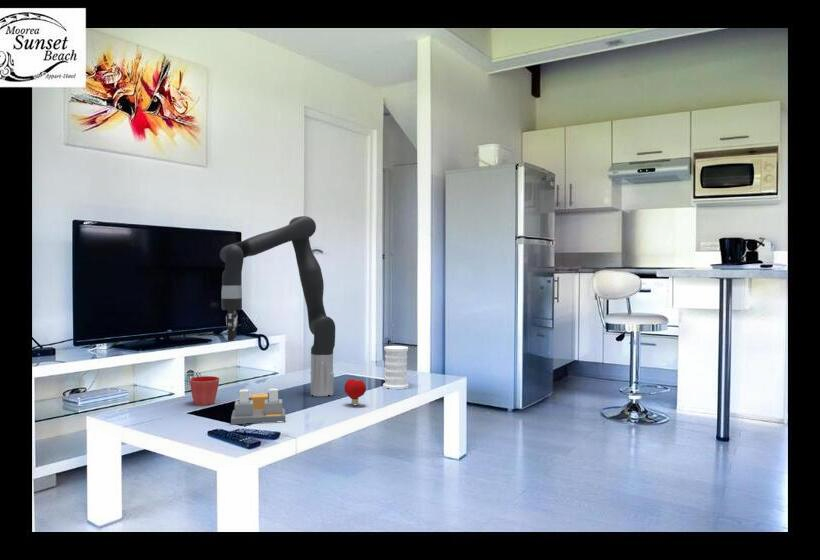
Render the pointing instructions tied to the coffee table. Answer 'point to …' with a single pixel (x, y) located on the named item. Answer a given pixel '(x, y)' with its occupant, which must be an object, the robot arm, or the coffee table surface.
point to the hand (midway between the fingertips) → (231, 339)
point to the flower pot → (204, 389)
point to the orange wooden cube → (259, 400)
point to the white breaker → (273, 395)
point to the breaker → (244, 396)
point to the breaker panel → (258, 413)
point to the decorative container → (396, 367)
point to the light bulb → (355, 389)
